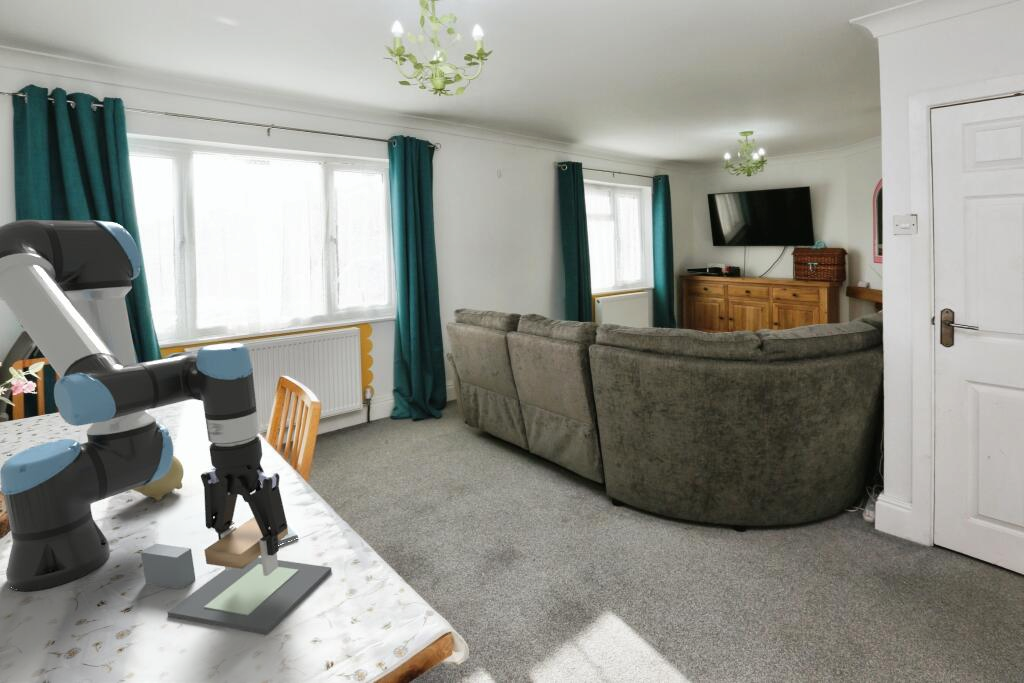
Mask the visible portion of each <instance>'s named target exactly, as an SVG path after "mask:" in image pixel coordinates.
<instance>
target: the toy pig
mask: <svg viewBox="0 0 1024 683" xmlns="http://www.w3.org/2000/svg"><path fill="white" fill-rule="evenodd" d="M183 478H184V467H183V464H182V463H181V461H180V460H179V459H178V458H177V457H176V455H175V456H174V455H173V461H172V465H171V468H170V469H169V471H168V473H167V474H166V475H165V476H164V477H162V478H161V479H158V480H156V481H153V482H151V483H149V484H147V485H145V486H143V487H137V488H134V489H131V490H132V491H134V492H137V493H140V494H142V495H143V496H145V497H147V498H148V497H149V498H154V499H155V500H156V501H157V502H158V501H159V502H160V501H161V500H162V499H163V497H164V496H165V495H167V494H169V493H171V492H173V491H174V490H175V489H177V490H181V489H182V488H183V483H182V482H183Z"/></svg>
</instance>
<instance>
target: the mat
mask: <svg viewBox="0 0 1024 683" xmlns="http://www.w3.org/2000/svg"><path fill="white" fill-rule="evenodd" d="M277 560H278V568H277V569H275V570H274V571H273V572H272V573H270V574H269V575H268V576H264V575H263V567H262V559H261V556H259V557H258V558H256V559H255V560H254V561H252V562H251V563H250V564H248V565H247V566H246V567H244V568H243V569H239V568H232V569H231V570H229V571H228V570H225V569H223V570H222V571H221V572H220V573H218V574H217V575H215V576H213V578H212V579H210V580H209V581H207V582H206V583H204V584H203V585H202V586H200V587H199V588H197V589H195V591H194V592H192V593H191V594H190V595H188V596H187V597H185V598H184V599H182V600H181V601H180V602H179V603H177V604H175V605H174V606H173V607H171V609H169V610H168V611H167V617H168V618H174V619H175V618H176V619H180V620H186V621H189V622H197V623H201V624H207V625H214V626H219V627H223V628H230V629H233V630H234V629H235V630H238V631H239V630H240V631H245V632H250V633H251V632H252V633H257V634H262V635H268V634H269V633H270V632H271V631H272V630H273V629H275V627H276V626H277V625H279V623H281V621H282V620H284V619H285V617H287V616H288V615H289V613H291V612H292V610H294V609H295V608H296V607H297V606H298V605H299V604H300V603H301V602H302V601H303V600H304V599H305V598H306V597H307V596H308V595H309V594H310V593H311V592H312V591H314V589H315V588H317V587H318V585H319V584H320V583H321V582H323V581H324V579H325V578H327V577H328V576H329V575H330V572H331V571H332V567H330V566H323V565H317V564H308V563H302V562H296V561H295V562H294V561H288V560H287V561H286V560H282V559H281V560H279V559H277Z"/></svg>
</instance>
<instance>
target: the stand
mask: <svg viewBox="0 0 1024 683" xmlns="http://www.w3.org/2000/svg"><path fill="white" fill-rule="evenodd" d="M140 557H141V561H142V562H141V563H142V569H143V575H144V581H145V584H148V585H153V586H161V587H165V588H166V587H167V588H172V589H178V590H183V589H184V588H185V587H187V586H189V585H190V584H191V583H192V582H194V581H196V573H195V567H194V566H195V565H194V559H193V558H194V557H193V553H192V547H191V548H189V547H184V546H176V545H171V544H170V545H169V544H161V543H154V544H153V545H150V546H149V547H147V548H145V549H143V550H142V551H140Z"/></svg>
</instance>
